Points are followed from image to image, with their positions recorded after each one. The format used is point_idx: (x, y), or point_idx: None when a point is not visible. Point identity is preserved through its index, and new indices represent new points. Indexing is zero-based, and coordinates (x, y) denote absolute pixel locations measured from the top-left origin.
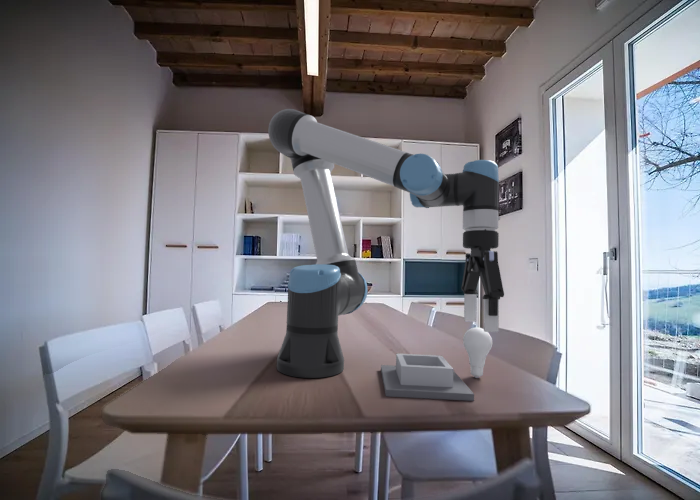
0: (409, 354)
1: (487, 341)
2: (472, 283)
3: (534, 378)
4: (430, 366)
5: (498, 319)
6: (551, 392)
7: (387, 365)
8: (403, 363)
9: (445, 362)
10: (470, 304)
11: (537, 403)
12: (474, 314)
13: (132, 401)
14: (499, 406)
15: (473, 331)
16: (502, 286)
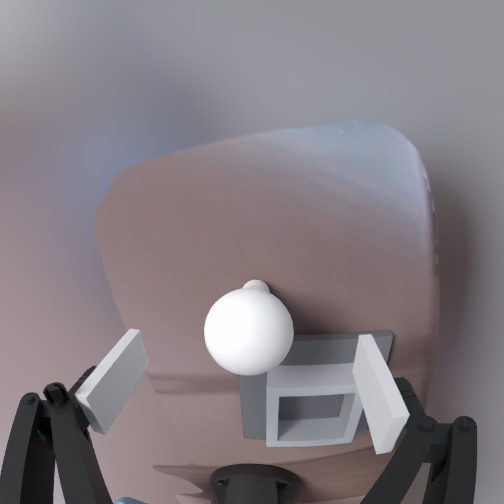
0: (270, 432)
1: (289, 321)
2: (91, 464)
3: (232, 142)
4: (353, 412)
5: (384, 360)
6: (334, 152)
7: (245, 432)
8: (335, 441)
9: (325, 389)
10: (116, 389)
11: (399, 220)
12: (129, 351)
13: None
14: (411, 295)
15: (267, 368)
16: (475, 451)
